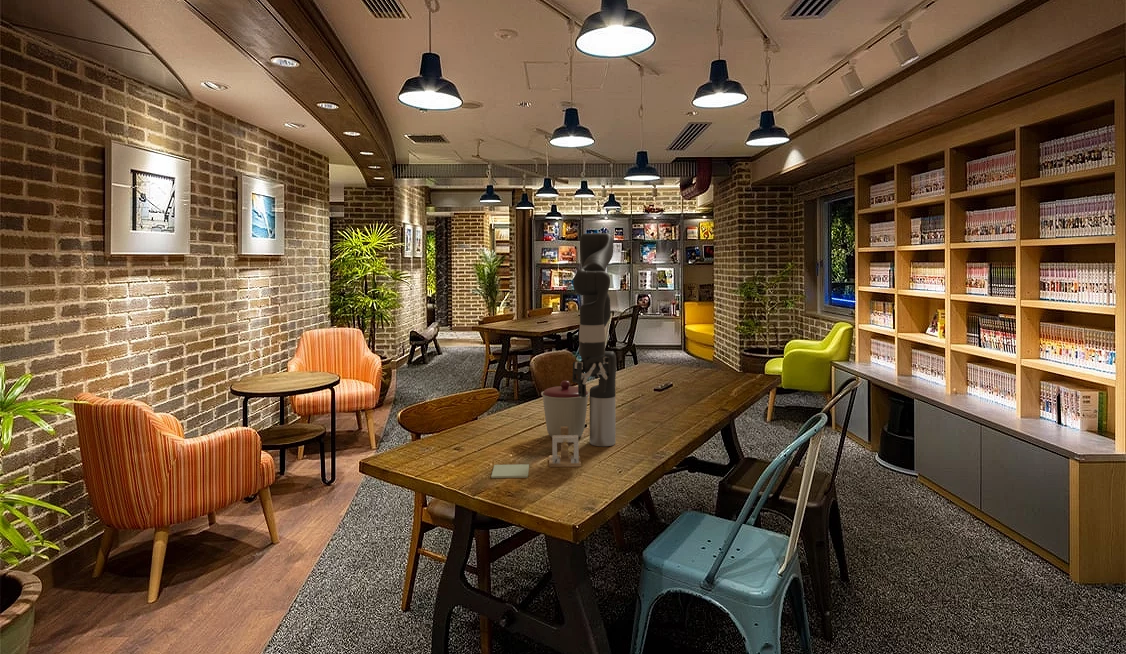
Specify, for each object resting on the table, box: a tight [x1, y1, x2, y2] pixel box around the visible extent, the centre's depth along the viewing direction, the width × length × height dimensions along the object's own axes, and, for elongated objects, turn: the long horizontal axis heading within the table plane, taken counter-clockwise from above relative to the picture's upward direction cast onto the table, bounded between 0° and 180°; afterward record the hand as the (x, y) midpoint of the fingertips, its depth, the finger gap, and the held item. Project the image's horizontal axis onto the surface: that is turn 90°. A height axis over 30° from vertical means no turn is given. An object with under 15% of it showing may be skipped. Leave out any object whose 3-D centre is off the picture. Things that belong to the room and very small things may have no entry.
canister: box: [540, 380, 590, 438], centre depth 237 cm, size 18×18×21 cm
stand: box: [548, 427, 582, 468], centre depth 202 cm, size 19×10×11 cm, turn 1°
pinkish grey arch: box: [551, 435, 580, 463], centre depth 198 cm, size 3×8×8 cm, turn 91°
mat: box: [490, 463, 530, 479], centre depth 198 cm, size 11×11×1 cm
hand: (592, 394), depth 188 cm, fingers open, 8 cm apart
